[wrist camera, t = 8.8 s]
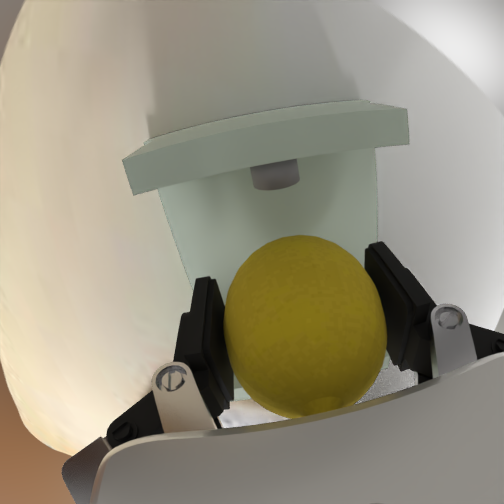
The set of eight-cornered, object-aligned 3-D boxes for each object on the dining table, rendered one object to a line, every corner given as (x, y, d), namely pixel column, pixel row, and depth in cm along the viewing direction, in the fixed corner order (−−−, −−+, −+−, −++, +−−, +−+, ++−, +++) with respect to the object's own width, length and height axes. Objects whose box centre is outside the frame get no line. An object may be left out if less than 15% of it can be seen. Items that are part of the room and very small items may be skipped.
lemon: (276, 178, 12) (322, 317, 5) (369, 246, 13) (451, 382, 6) (205, 274, 14) (181, 434, 7) (296, 322, 16) (323, 462, 9)
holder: (367, 308, 18) (396, 365, 14) (217, 338, 19) (215, 403, 15) (361, 99, 12) (419, 108, 8) (149, 139, 12) (108, 164, 8)
